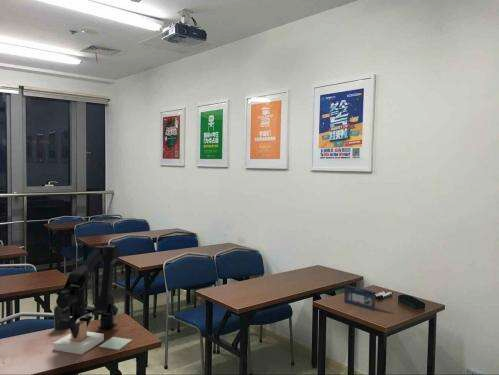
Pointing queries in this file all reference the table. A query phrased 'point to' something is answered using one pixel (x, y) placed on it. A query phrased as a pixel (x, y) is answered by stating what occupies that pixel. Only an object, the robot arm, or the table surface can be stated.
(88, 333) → the dock
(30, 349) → the table surface
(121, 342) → the mat
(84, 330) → the peg
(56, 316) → the battery charger
